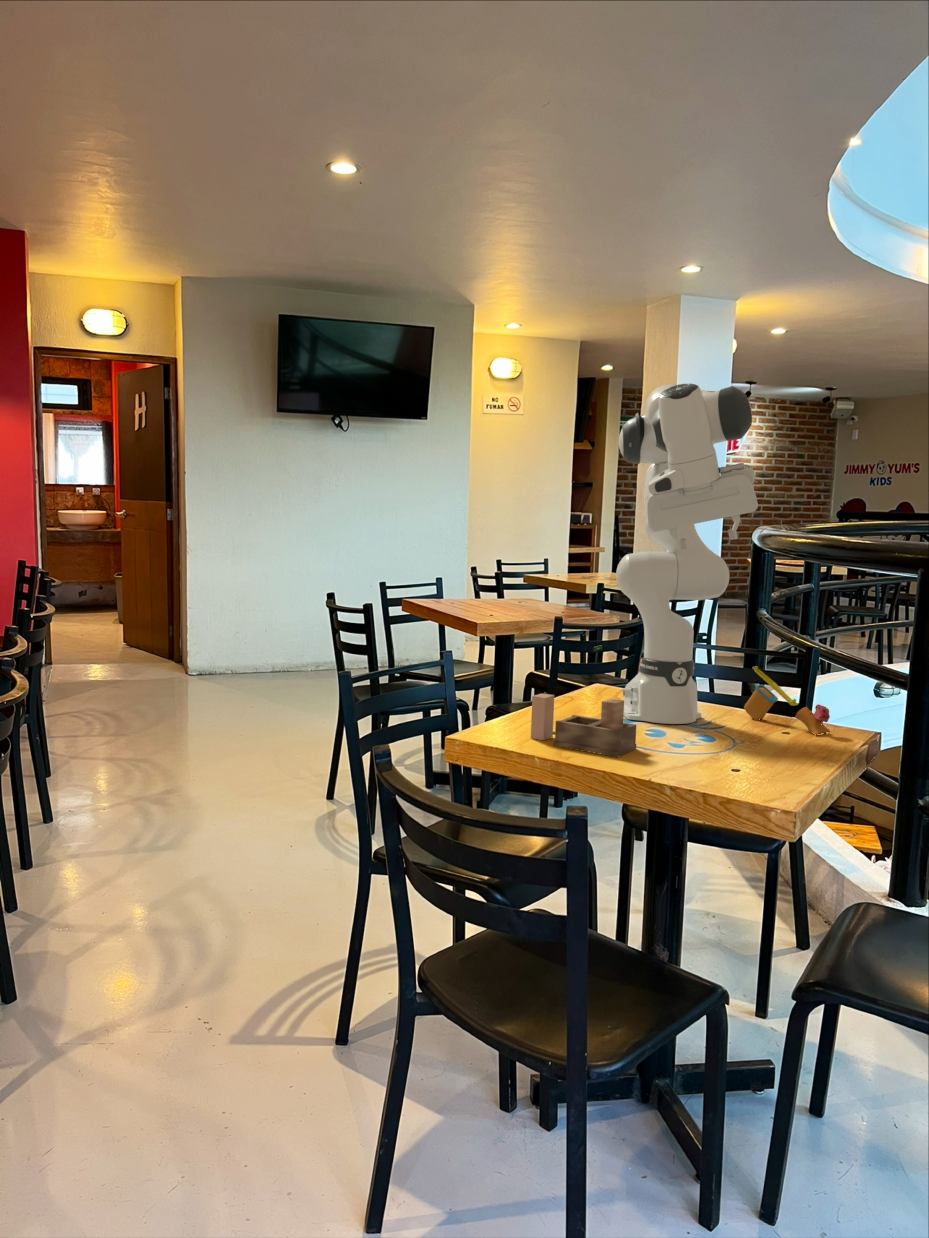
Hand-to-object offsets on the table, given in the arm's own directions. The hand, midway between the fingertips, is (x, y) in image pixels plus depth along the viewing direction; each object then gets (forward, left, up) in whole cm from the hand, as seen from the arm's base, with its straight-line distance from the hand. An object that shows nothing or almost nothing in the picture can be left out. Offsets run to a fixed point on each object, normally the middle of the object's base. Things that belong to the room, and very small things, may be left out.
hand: (708, 543), depth 173 cm
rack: (-11, -17, -42) cm, 46 cm away
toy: (-22, +36, -42) cm, 59 cm away
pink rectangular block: (-20, -24, -42) cm, 52 cm away
